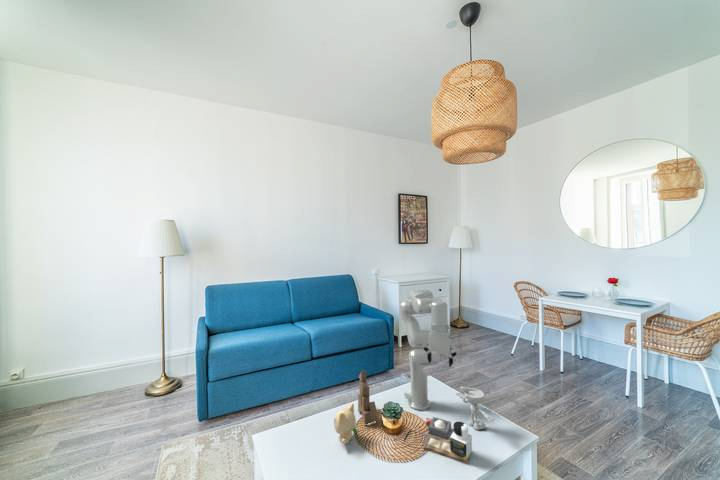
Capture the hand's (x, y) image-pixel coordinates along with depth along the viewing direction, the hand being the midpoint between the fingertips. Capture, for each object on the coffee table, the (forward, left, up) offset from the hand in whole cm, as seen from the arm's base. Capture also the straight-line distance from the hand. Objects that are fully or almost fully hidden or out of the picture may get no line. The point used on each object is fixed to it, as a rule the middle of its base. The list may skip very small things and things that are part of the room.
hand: (440, 363), depth 132 cm
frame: (-11, -5, -36) cm, 38 cm away
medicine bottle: (+10, -5, -35) cm, 37 cm away
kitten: (-41, -20, -36) cm, 58 cm away
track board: (+4, -5, -36) cm, 37 cm away
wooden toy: (-40, 0, -36) cm, 54 cm away
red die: (-8, +8, -36) cm, 38 cm away
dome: (-2, +6, -36) cm, 37 cm away
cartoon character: (+12, +17, -36) cm, 42 cm away
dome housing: (-2, +6, -36) cm, 37 cm away
